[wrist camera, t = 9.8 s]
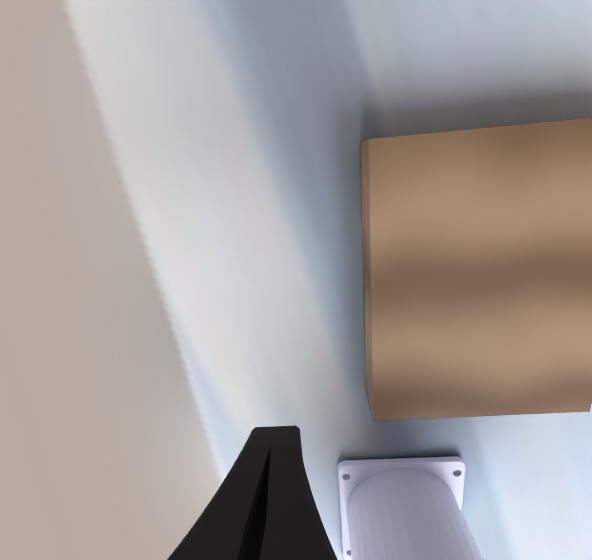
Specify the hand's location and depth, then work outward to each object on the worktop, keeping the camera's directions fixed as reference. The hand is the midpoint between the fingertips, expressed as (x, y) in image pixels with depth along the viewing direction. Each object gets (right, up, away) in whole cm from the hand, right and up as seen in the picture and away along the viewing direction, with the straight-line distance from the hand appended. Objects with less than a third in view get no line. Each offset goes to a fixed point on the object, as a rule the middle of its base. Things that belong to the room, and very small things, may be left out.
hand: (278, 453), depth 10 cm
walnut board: (+10, +6, +8) cm, 14 cm away
